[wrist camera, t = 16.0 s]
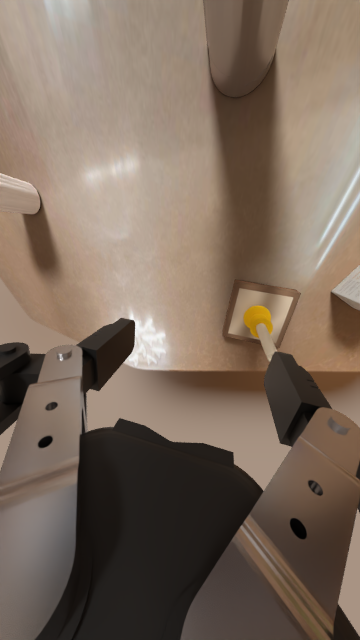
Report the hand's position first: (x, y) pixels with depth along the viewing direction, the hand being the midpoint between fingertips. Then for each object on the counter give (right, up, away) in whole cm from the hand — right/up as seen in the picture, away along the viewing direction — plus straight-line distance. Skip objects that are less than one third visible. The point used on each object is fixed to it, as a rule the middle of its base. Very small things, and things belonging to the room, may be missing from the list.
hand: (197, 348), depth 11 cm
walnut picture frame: (+16, +3, +30) cm, 34 cm away
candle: (+15, +2, +28) cm, 32 cm away
